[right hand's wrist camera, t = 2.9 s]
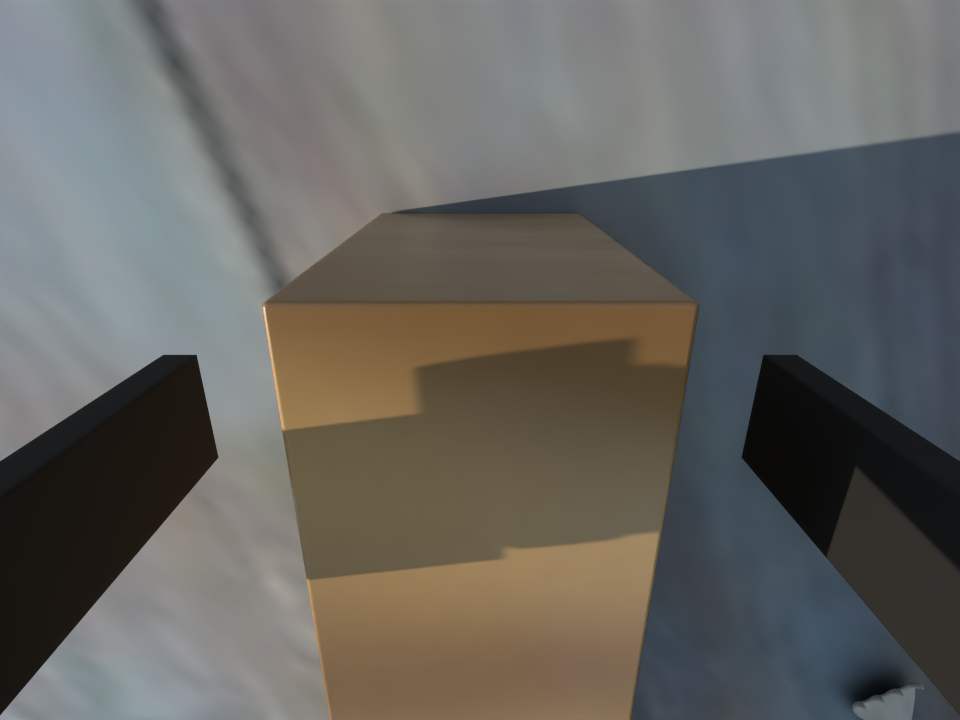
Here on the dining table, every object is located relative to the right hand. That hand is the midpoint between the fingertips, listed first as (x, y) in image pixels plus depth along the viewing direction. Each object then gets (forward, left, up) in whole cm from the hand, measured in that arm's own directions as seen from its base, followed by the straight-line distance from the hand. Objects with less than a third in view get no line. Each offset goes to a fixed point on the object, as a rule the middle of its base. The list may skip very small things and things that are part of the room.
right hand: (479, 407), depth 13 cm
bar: (+6, +6, -4) cm, 10 cm away
